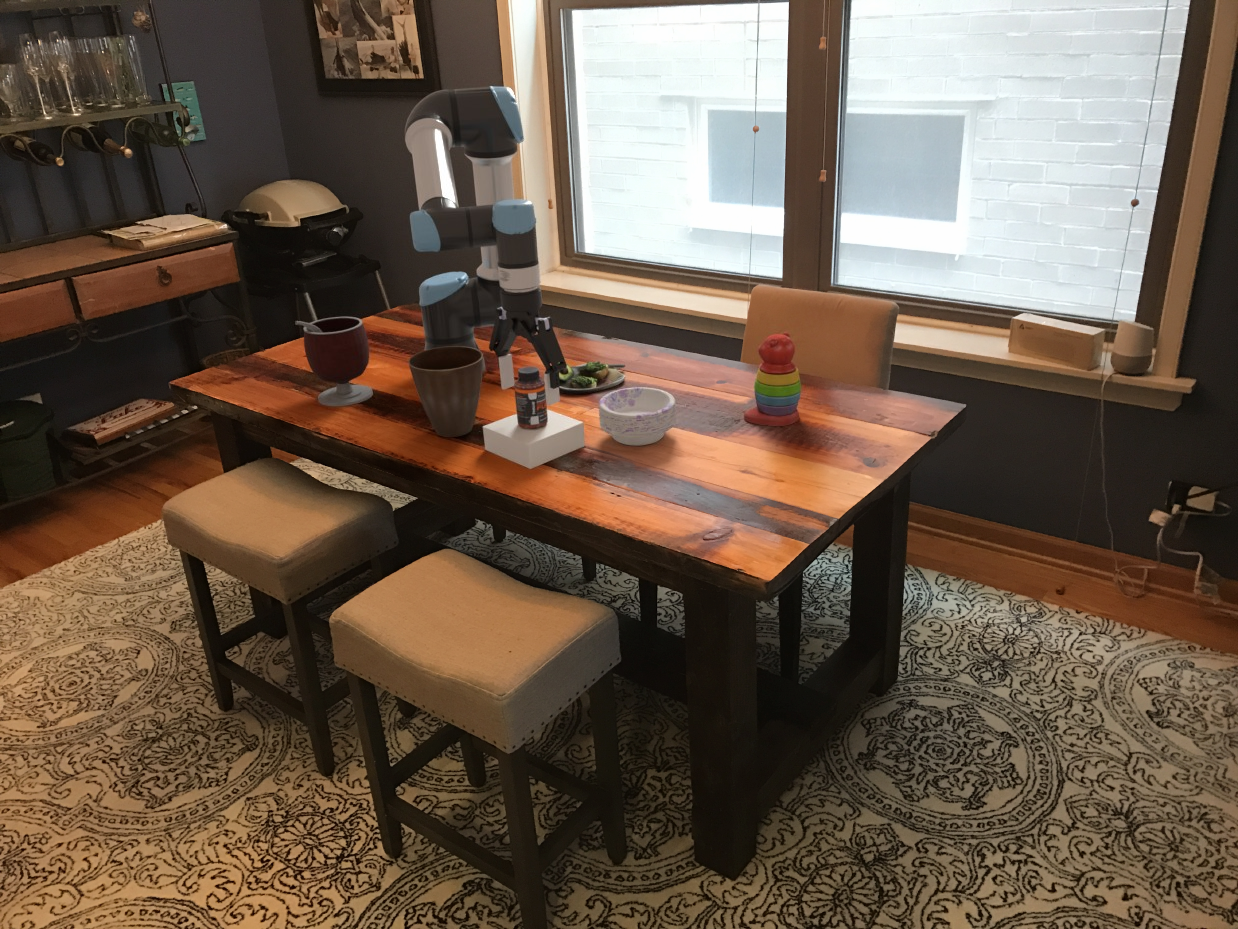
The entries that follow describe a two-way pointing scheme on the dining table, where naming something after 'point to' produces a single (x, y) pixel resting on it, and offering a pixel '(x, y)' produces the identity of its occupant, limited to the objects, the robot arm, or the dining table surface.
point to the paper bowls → (637, 415)
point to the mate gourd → (338, 357)
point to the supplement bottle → (530, 399)
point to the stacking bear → (776, 384)
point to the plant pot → (449, 386)
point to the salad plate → (589, 377)
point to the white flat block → (534, 439)
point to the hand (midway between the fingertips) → (530, 395)
